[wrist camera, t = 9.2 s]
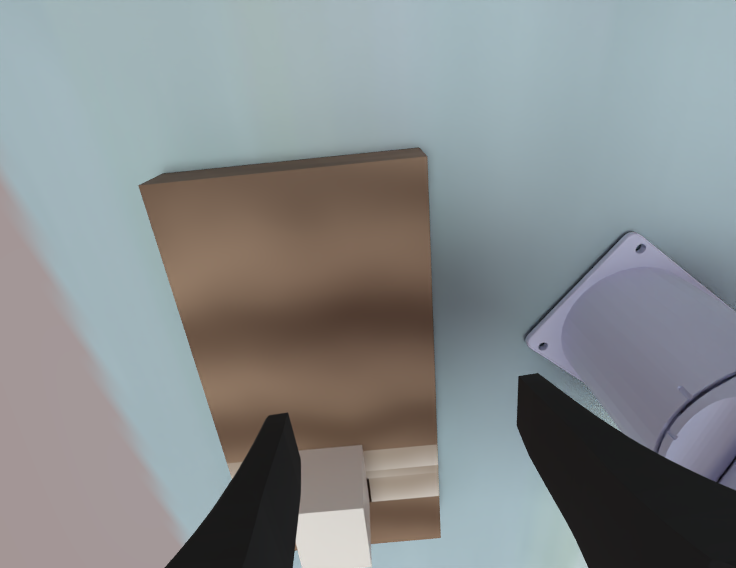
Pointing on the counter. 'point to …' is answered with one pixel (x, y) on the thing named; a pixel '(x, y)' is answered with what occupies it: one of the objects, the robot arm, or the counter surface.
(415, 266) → the socket board
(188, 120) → the counter surface
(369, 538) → the plug
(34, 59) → the counter surface
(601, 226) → the counter surface
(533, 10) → the counter surface
